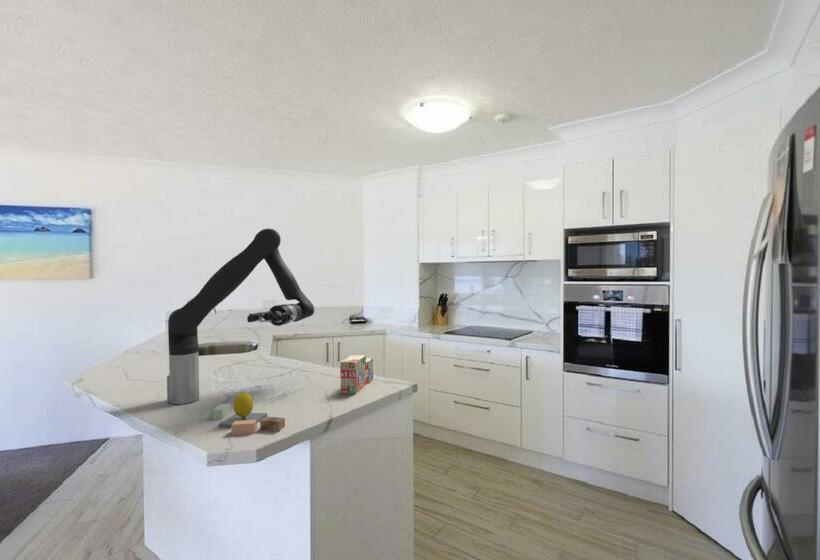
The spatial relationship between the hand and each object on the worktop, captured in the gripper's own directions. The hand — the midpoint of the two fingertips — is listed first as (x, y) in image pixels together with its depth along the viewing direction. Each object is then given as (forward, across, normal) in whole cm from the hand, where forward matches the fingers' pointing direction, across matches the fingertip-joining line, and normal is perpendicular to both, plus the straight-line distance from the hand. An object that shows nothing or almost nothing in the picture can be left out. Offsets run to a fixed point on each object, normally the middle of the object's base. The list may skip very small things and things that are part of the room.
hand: (260, 319), depth 130 cm
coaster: (+11, 0, +30) cm, 32 cm away
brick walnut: (+16, +12, +30) cm, 36 cm away
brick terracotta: (+19, +5, +30) cm, 36 cm away
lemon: (+11, 0, +29) cm, 31 cm away
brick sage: (+7, -10, +30) cm, 33 cm away
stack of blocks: (-30, +25, +30) cm, 49 cm away
